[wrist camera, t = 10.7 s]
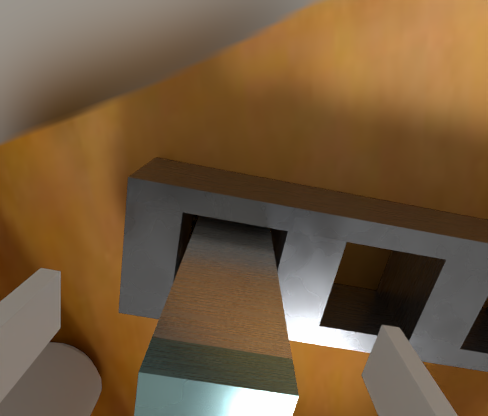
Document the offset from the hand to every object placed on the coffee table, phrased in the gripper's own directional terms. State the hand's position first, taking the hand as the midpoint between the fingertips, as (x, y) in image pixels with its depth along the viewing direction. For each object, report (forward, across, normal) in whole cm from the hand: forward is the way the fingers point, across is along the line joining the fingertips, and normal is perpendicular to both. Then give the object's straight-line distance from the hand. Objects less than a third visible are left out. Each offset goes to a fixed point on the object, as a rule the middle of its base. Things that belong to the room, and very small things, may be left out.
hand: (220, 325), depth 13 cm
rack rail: (+9, -8, 0) cm, 13 cm away
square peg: (+9, 0, 0) cm, 9 cm away
